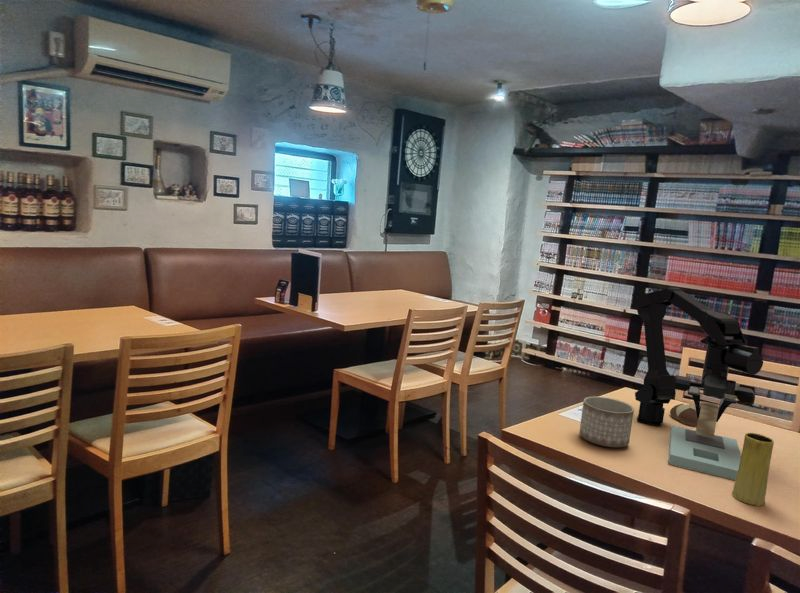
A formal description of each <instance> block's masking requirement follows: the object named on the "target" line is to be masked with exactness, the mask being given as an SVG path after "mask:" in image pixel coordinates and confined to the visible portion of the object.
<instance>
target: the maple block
mask: <svg viewBox="0 0 800 593" xmlns="http://www.w3.org/2000/svg"><path fill="white" fill-rule="evenodd" d="M718 410H719V405H718V404H716V403H712V402H707V401H701V400H700V415H699V418H698V422H697V427H695V428H696V429H695V431H696V432H697V434H700V435H705V436H709V437H714V435H715V433H716V426H717V422H716V421H717V416H718Z"/></svg>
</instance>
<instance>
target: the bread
mask: <svg viewBox="0 0 800 593" xmlns="http://www.w3.org/2000/svg"><path fill="white" fill-rule="evenodd" d="M669 414H670V416H671V418H673V419H674V420H676V421H678V422H679V423H682V424H684V425H686V426H689V427H695V428H697V422H698V418H697V414H696V408H695V404H691V403H690V404H684V403H680V404H676V405H675V406H673V407H671V408H670V410H669Z"/></svg>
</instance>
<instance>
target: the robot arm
mask: <svg viewBox="0 0 800 593" xmlns="http://www.w3.org/2000/svg"><path fill="white" fill-rule="evenodd" d="M670 306H674V307H676V308H677V309H679V310H680V311H681V312H683V313H684V314H686V315H687V316H689V317H691V318H692V319H693V320H695V321H696V322H697V323H698V324H699V326H700V328H701V330H702V331H703V332H704V333H705V334H706V335H707V336H706V337H705V338H702V339H700V343H701V344H704V345H706V351H705V357H704V364H703V367H702V368H703V369H702V376H701V380H700V382H697V381H691V377H689V376H683V375H677V374H675V375H674V374H670V372H669V371H668V369H667V361H666V350H665V339H664V332H663V331H664V328H663V320H664V319H665V316H666V314H667V308H668V307H670ZM635 307H636V312H637V314H638V316H639V317H640V319H641V320H642V322H643V326H644V336H645V348H646V350H645V351H646V360H647V372H646V374H645V376H644V378H643V387H640V389H638V390H637V391H635V392H634V396H635V401H637V402H639V408H638V414H637V418H636V421H637V422H638V423H644V424H647V425H652V426H656V427H661V425H662V424H663V423H664V417H665V410H666V409H665V407H664V404H667V405H668V404H670V401H671V400H672V399H673V397H675V395H676V390H677V391H682V392H687V395H689V396H691V397H692V400H693V402H694V405H695V408H696V414H697V418H699V415H700V404H701V391H702V394H703V395H704V396H706V397H714V398H718V399H720V401H719V405H718V408H719V410H718V416H717V421H716V423H719V420H720V418H721V417H722V415H723V414H724V412H726V410H727V408H729V406H730V405H732V404H735V405H736V404H737V400H738V401H739V402H740V403H744V404H750V405H754V404H755V399H756V395H755V392H754V391H753V389H752V388H749V387H743V386H737V382H736V380H731V379H728V375H729V369H732V370H735V371H738V372H741V373H745V374H748V375H752V376H753V375H757V374H758V373H759V372H761V370H762V368H763V365H764V361H763V356H762V355H761V353H760V348H759V347H757V346H751V345H750V346H748V342H747V340H746V338H745V336H744V333H743V330H742V329H741V326H740V324H741V323H740V321H739V320H738V319H737V318H735V317H733V316H730V315H727V314H726V313H722V312H718V311H715V310H713V309H711V308H710V307H708V306H706V305H705V304H703V303H702V302H700V301H699V300H697V299H695V298H694V297H692V296H691V295H690V294H688V293H686V292H685V291H684V290H683V289H682V288H680V287H666V288H663V289H660V290H655V291H651V292H641V293H640V294H639V295H638V296H637V297H636V299H635Z"/></svg>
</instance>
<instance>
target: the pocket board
mask: <svg viewBox="0 0 800 593" xmlns="http://www.w3.org/2000/svg"><path fill="white" fill-rule="evenodd" d="M739 447H740V446H739V444H738V440H737V439H736V438H731V437H728V436H722V435H718V434H714V437H709V436H705V435H700V434H697V432H696V429H695V430H694V429H691V428H685V427H681V426H676V425H673V424H671V428H670V433H669V450H668V451H669V452H668V465H671V466H672V465H673V466H676V467H680V468H683V469H688V470H691V471H696V472H700V473H703V474H708V475H710V476H711V475H712V476H715V477H719V478H724V479H727V480H728V479H729V480H732V481H736V476H737V472H738V469H739V464H740V459H741V455H742V453H741V451H740V448H739Z"/></svg>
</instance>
